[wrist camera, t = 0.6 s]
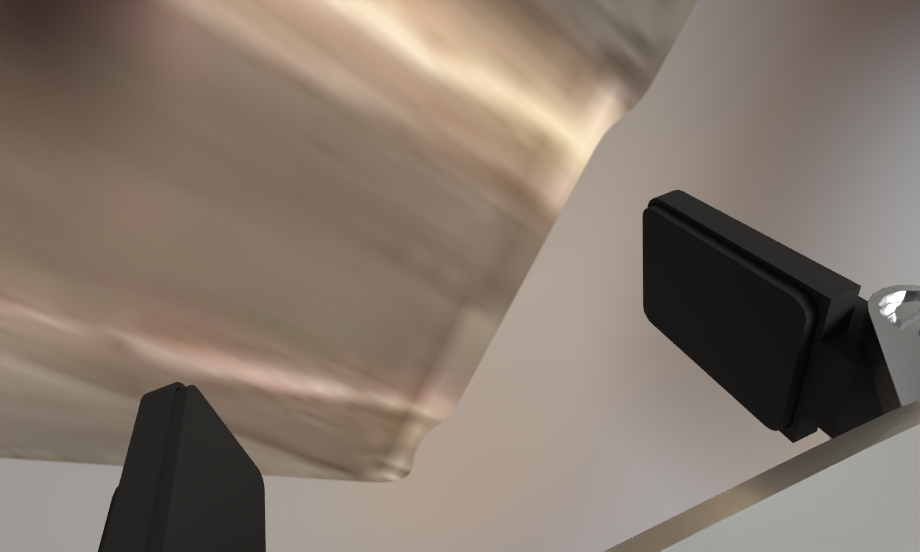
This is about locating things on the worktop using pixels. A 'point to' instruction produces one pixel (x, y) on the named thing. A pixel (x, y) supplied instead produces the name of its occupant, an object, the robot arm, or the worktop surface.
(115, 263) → the worktop surface
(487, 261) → the worktop surface
